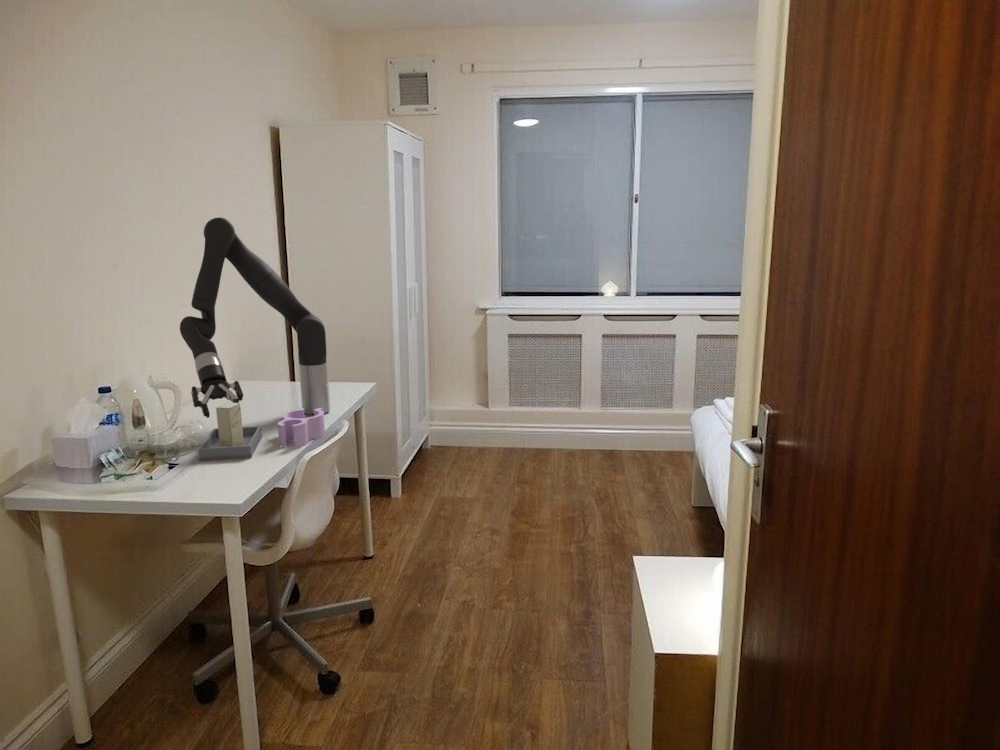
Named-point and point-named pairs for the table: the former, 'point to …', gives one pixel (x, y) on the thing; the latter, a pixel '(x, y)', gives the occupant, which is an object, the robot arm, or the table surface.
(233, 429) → the skincare box
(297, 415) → the clip
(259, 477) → the table surface
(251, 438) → the tray
